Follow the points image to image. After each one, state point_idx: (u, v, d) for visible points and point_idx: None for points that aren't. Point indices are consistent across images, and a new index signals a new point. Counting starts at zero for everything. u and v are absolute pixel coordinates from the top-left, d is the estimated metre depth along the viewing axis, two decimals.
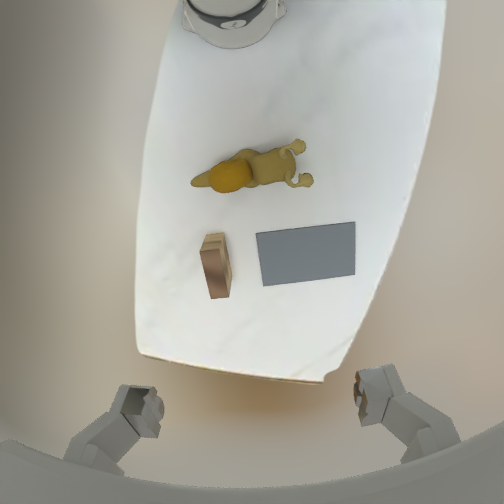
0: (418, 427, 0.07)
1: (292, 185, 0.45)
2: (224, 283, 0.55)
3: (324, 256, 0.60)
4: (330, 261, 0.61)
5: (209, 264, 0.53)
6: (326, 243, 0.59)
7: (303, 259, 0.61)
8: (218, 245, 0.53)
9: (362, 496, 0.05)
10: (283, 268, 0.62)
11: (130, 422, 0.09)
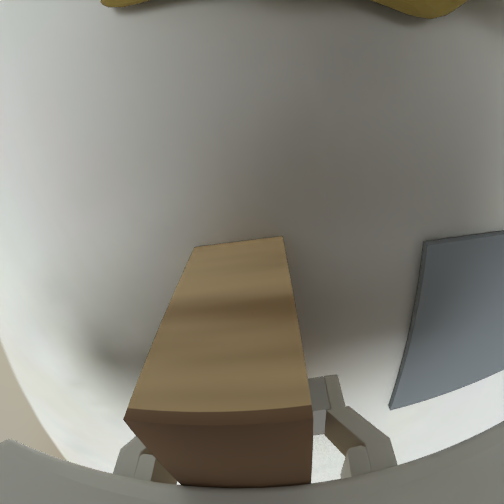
0: (355, 444, 0.07)
1: None
2: None
3: None
4: None
5: (218, 477, 0.06)
6: None
7: None
8: (289, 352, 0.06)
9: (362, 496, 0.05)
10: (463, 357, 0.14)
11: None
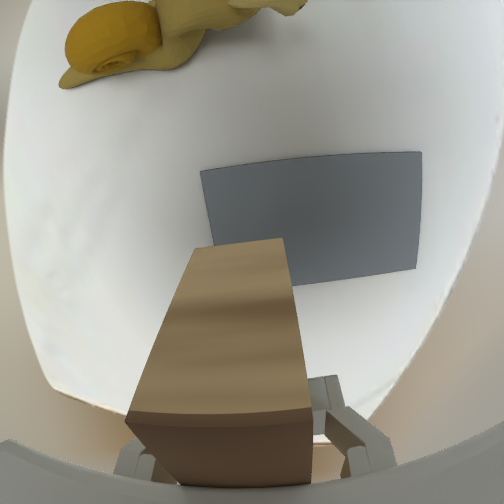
0: (355, 444, 0.07)
1: (245, 1, 0.11)
2: None
3: (359, 227, 0.26)
4: (370, 238, 0.27)
5: (218, 478, 0.06)
6: (363, 196, 0.25)
7: (312, 233, 0.26)
8: (289, 354, 0.06)
9: (362, 496, 0.05)
10: None
11: None
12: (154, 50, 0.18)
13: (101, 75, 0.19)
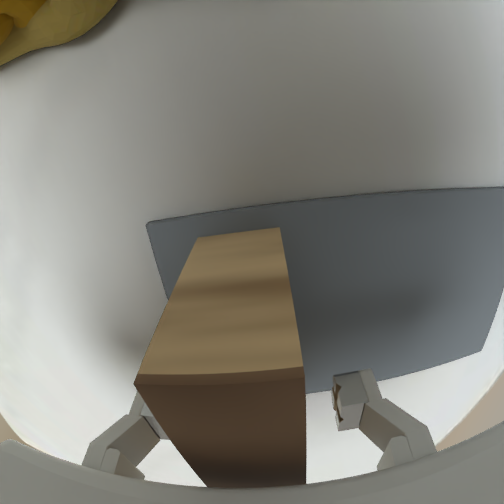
0: (394, 435, 0.07)
1: None
2: None
3: (424, 311, 0.14)
4: (436, 324, 0.15)
5: (218, 446, 0.06)
6: (439, 264, 0.13)
7: (350, 326, 0.15)
8: (284, 323, 0.07)
9: (362, 496, 0.05)
10: None
11: (151, 424, 0.09)
12: (36, 10, 0.06)
13: None
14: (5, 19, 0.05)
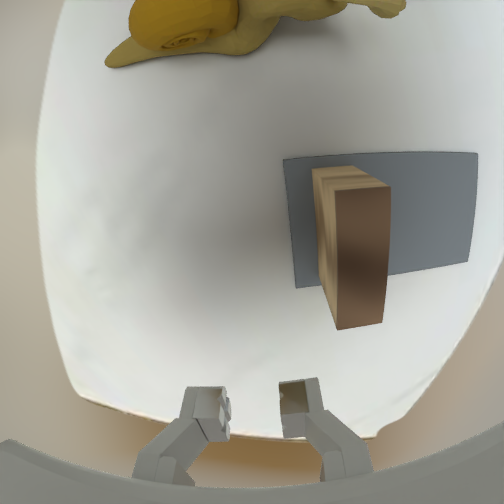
0: (333, 448, 0.07)
1: None
2: (382, 287, 0.19)
3: (426, 222, 0.25)
4: (434, 233, 0.25)
5: (357, 233, 0.17)
6: (431, 192, 0.24)
7: None
8: (376, 181, 0.17)
9: (362, 496, 0.05)
10: None
11: (202, 427, 0.09)
12: (228, 32, 0.17)
13: (160, 54, 0.18)
14: (210, 31, 0.16)
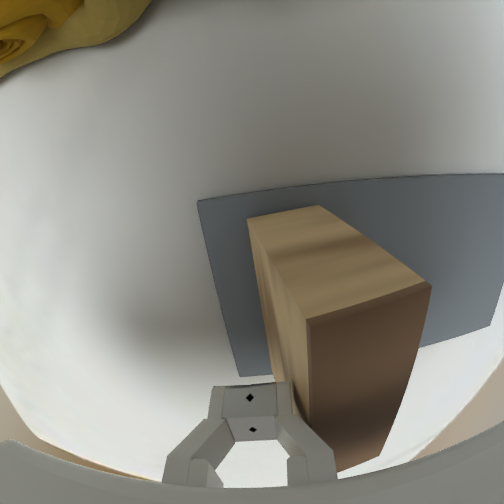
0: (300, 453, 0.08)
1: None
2: (386, 428, 0.10)
3: (439, 284, 0.16)
4: (450, 297, 0.16)
5: (353, 384, 0.08)
6: (451, 240, 0.14)
7: None
8: (389, 261, 0.08)
9: (362, 496, 0.05)
10: None
11: (231, 427, 0.09)
12: (72, 13, 0.07)
13: (10, 67, 0.09)
14: (42, 19, 0.07)
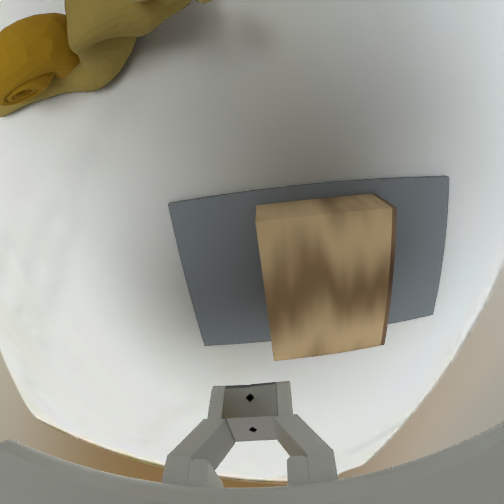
0: (300, 453, 0.08)
1: None
2: None
3: None
4: None
5: None
6: None
7: None
8: (352, 196, 0.18)
9: (362, 496, 0.05)
10: (254, 304, 0.22)
11: (231, 427, 0.09)
12: (72, 69, 0.13)
13: (28, 101, 0.15)
14: (51, 74, 0.12)
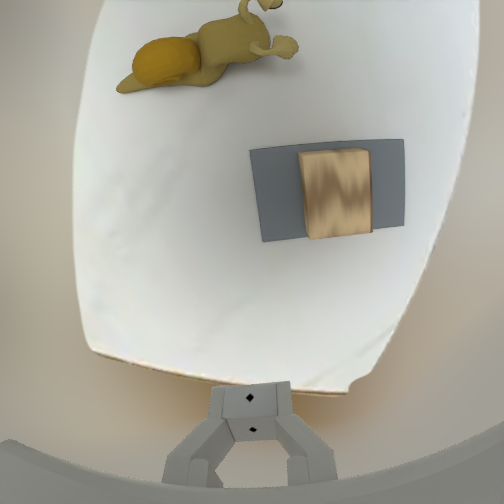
0: (300, 453, 0.08)
1: (260, 51, 0.22)
2: None
3: None
4: None
5: None
6: None
7: None
8: (348, 148, 0.33)
9: (362, 496, 0.05)
10: (295, 210, 0.37)
11: (230, 427, 0.09)
12: (195, 72, 0.28)
13: (153, 86, 0.30)
14: (183, 73, 0.27)
